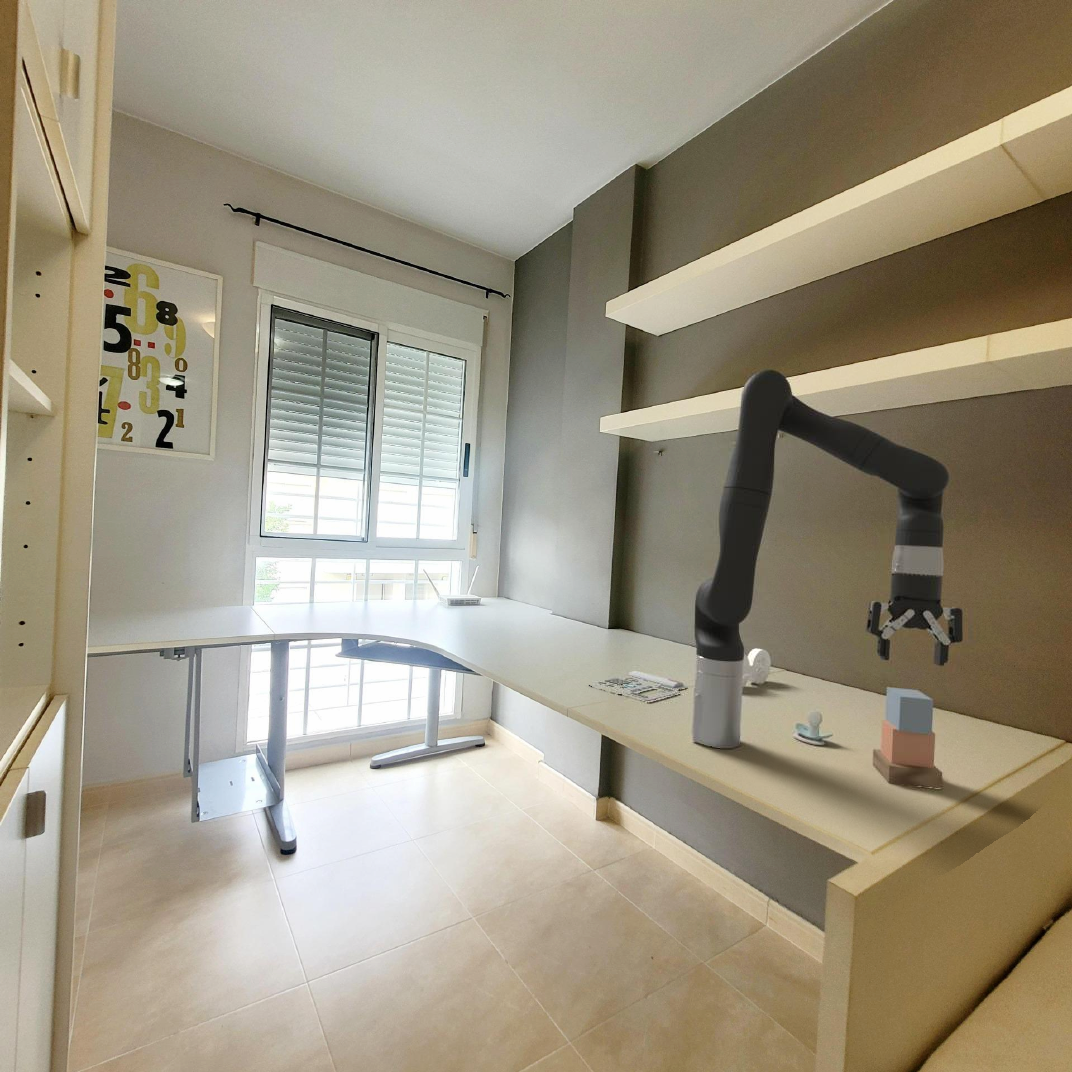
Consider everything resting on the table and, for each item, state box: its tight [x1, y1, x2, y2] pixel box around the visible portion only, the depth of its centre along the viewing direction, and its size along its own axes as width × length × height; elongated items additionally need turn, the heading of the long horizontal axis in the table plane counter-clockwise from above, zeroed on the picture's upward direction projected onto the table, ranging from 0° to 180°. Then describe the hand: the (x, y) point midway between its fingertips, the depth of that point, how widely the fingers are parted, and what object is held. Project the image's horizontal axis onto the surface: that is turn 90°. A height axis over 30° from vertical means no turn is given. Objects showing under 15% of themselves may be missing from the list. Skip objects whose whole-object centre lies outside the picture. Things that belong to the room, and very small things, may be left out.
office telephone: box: [595, 670, 688, 701], centre depth 150 cm, size 23×3×20 cm
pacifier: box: [792, 709, 834, 746], centre depth 115 cm, size 7×6×6 cm
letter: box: [743, 648, 772, 688], centre depth 157 cm, size 22×2×10 cm, turn 129°
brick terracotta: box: [880, 719, 936, 768], centre depth 98 cm, size 6×5×6 cm
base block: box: [872, 748, 943, 789], centre depth 98 cm, size 8×8×3 cm
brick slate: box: [884, 686, 934, 735], centre depth 98 cm, size 6×5×6 cm
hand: (911, 662), depth 98 cm, fingers open, 8 cm apart
